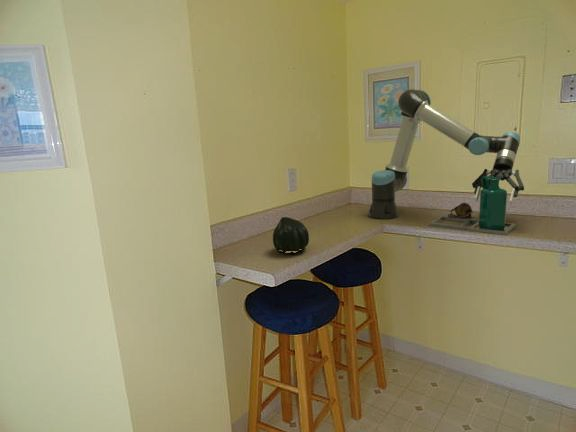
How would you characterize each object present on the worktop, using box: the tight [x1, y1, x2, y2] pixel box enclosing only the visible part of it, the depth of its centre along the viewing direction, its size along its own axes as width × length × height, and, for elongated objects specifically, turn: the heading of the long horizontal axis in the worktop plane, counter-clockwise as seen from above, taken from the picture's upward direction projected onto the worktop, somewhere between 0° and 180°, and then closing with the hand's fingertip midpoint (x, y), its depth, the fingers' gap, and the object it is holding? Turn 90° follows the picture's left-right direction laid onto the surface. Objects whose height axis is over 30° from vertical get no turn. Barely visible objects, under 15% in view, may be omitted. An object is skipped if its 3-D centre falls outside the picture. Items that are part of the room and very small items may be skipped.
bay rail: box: [428, 215, 516, 236], centre depth 175 cm, size 32×15×1 cm, turn 49°
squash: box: [272, 216, 310, 252], centre depth 155 cm, size 14×15×15 cm
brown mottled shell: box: [447, 202, 474, 218], centre depth 192 cm, size 7×13×10 cm
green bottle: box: [478, 175, 508, 230], centre depth 168 cm, size 10×8×22 cm
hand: (492, 201), depth 165 cm, fingers open, 13 cm apart
